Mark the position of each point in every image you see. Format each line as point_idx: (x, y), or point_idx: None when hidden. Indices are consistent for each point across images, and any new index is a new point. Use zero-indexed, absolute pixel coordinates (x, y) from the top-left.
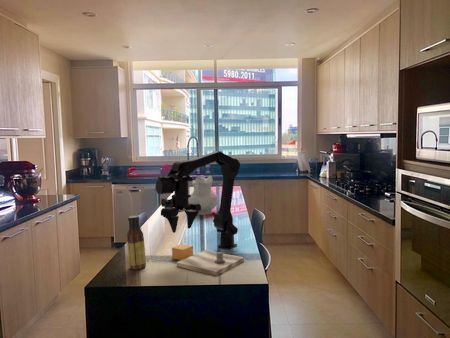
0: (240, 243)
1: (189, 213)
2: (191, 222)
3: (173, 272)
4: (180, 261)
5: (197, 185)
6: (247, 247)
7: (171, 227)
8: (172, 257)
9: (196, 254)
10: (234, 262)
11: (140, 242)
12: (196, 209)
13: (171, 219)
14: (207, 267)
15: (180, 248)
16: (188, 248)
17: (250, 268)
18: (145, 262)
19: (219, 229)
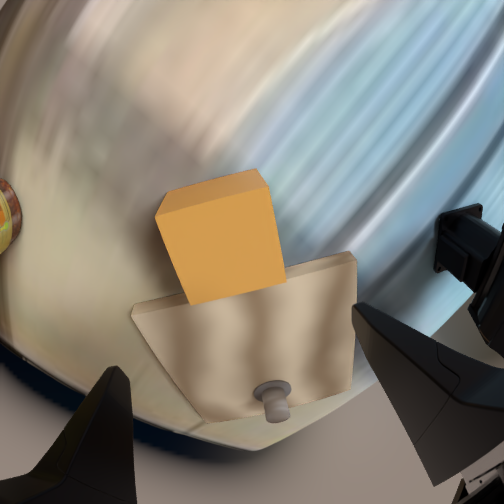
0: None
1: (456, 447)
2: (382, 386)
3: (103, 341)
4: (150, 318)
5: None
6: (462, 291)
7: (84, 408)
8: (166, 195)
9: (273, 287)
10: (299, 404)
11: None
12: (457, 500)
13: (72, 494)
14: (206, 402)
15: (192, 275)
16: (243, 289)
17: (308, 413)
18: (11, 236)
19: (498, 271)
